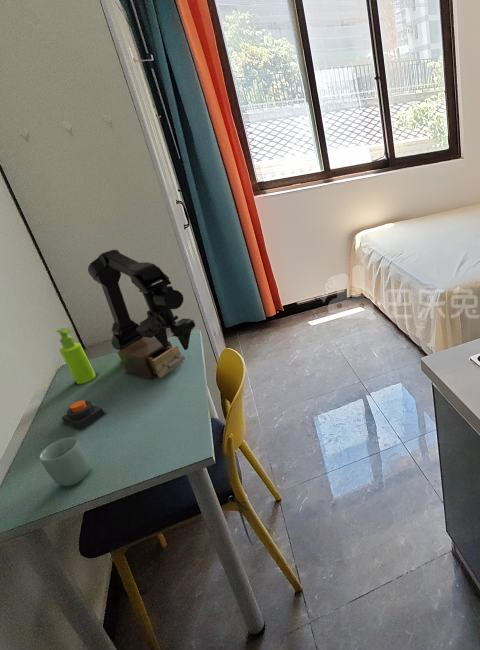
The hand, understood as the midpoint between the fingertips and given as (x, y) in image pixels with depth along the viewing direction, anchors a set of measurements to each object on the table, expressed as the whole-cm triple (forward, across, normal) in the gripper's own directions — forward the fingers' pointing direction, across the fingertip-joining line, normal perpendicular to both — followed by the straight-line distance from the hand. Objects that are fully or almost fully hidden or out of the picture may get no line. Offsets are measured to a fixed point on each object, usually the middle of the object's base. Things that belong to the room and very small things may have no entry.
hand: (176, 348), depth 143 cm
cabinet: (+11, -19, +2) cm, 22 cm away
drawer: (+10, -13, +1) cm, 16 cm away
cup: (+12, +6, -42) cm, 44 cm away
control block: (+11, -16, -25) cm, 32 cm away
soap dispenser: (+10, -38, -10) cm, 40 cm away
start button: (+7, -16, -25) cm, 31 cm away
